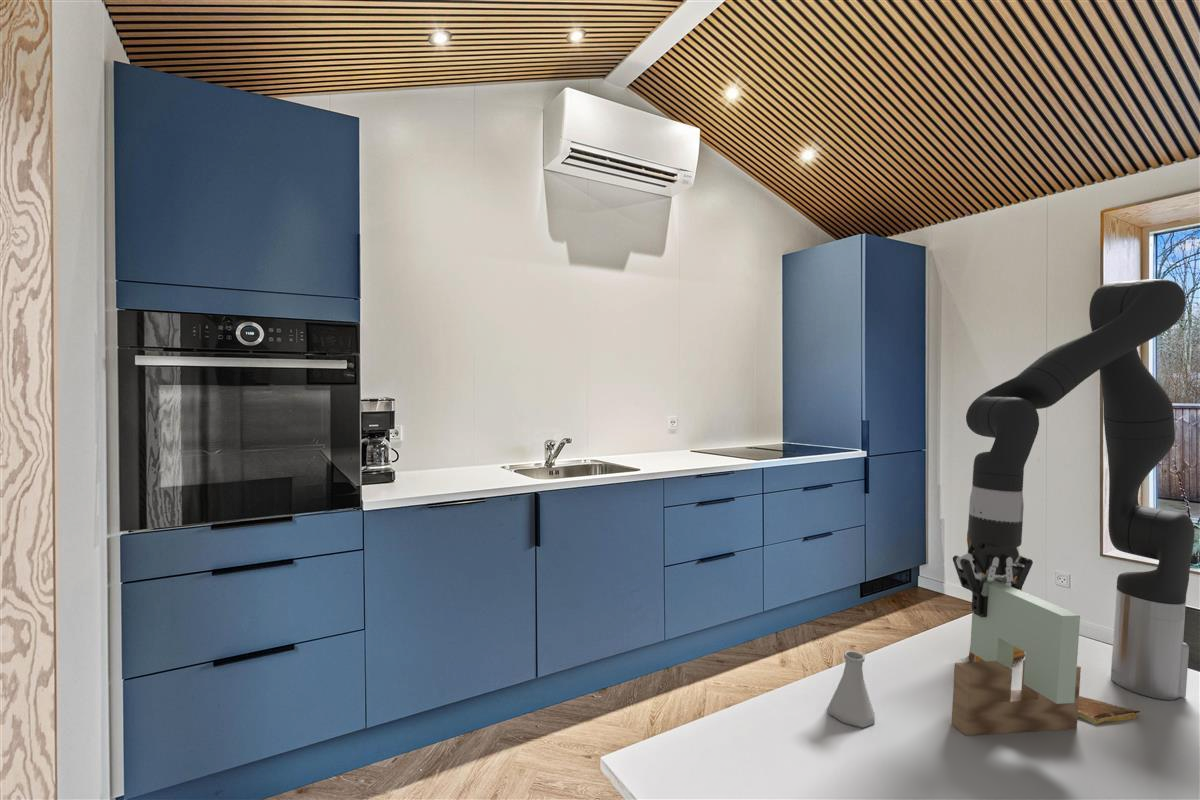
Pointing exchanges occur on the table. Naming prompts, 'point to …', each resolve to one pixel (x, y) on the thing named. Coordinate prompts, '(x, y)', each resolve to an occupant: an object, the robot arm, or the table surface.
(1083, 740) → the table surface
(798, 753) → the table surface
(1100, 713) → the shard
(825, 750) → the table surface
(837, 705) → the flask
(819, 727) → the table surface
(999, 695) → the walnut board
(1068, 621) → the sage board
